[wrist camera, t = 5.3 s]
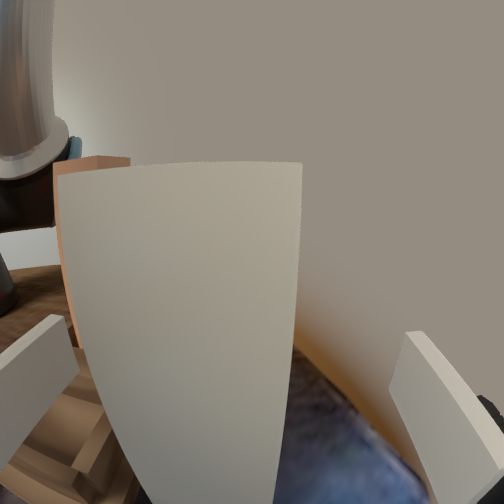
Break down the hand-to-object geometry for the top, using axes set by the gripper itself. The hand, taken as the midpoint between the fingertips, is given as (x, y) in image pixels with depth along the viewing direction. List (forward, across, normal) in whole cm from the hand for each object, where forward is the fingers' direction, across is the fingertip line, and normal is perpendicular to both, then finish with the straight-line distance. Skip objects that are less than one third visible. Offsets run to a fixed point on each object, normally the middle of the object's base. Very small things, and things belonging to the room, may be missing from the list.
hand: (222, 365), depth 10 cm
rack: (+5, -11, -10) cm, 16 cm away
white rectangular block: (-2, 0, -10) cm, 10 cm away
